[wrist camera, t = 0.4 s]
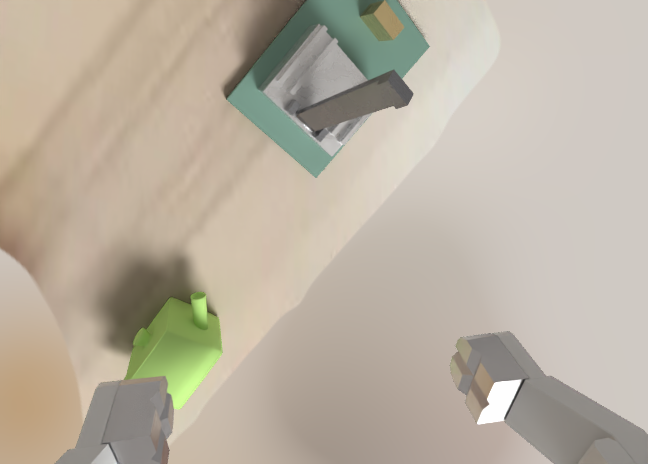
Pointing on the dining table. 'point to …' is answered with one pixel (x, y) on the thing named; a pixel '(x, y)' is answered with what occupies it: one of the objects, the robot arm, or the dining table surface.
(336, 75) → the silver and yellow blocks
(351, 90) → the block
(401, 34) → the circuit board
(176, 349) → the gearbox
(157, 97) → the dining table surface
